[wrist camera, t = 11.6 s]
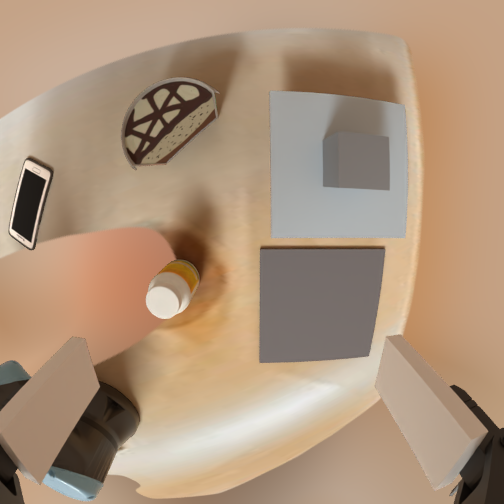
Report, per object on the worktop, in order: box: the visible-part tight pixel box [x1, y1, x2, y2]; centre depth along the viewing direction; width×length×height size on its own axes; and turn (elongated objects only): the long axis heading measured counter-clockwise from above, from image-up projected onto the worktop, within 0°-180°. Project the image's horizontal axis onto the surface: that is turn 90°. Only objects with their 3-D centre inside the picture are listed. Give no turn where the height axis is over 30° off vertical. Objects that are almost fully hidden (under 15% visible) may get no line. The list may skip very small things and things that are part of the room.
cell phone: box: [9, 158, 53, 250], centre depth 38 cm, size 8×15×1 cm, turn 153°
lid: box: [269, 91, 408, 238], centre depth 27 cm, size 16×16×7 cm
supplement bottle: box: [146, 259, 200, 319], centre depth 36 cm, size 5×5×10 cm
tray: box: [260, 249, 385, 363], centre depth 41 cm, size 18×18×1 cm
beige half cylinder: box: [121, 77, 220, 170], centre depth 30 cm, size 12×6×10 cm, turn 131°
